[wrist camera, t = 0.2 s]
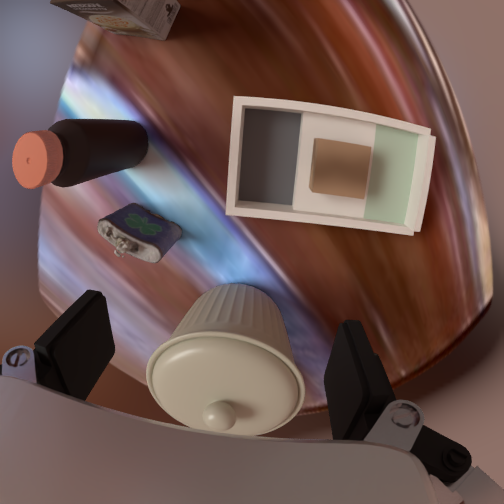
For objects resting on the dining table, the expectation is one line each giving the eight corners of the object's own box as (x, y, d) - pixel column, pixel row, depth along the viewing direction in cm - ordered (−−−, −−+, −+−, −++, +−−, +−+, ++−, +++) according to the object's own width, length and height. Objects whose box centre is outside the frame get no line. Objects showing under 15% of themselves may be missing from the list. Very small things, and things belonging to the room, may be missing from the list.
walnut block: (313, 137, 33) (318, 138, 30) (362, 145, 33) (371, 146, 30) (308, 187, 35) (312, 192, 32) (355, 193, 35) (364, 199, 32)
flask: (185, 227, 41) (158, 257, 31) (177, 244, 42) (150, 278, 32) (129, 198, 40) (90, 219, 30) (123, 216, 41) (84, 241, 31)
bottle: (117, 114, 36) (15, 113, 17) (156, 129, 36) (65, 132, 18) (101, 158, 38) (1, 185, 20) (139, 174, 39) (47, 211, 20)
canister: (288, 362, 49) (292, 469, 30) (184, 352, 50) (148, 451, 30) (304, 267, 42) (326, 373, 23) (178, 257, 43) (115, 349, 23)
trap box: (238, 100, 35) (232, 94, 29) (415, 128, 34) (436, 129, 28) (230, 206, 40) (223, 218, 34) (400, 225, 39) (417, 239, 34)
